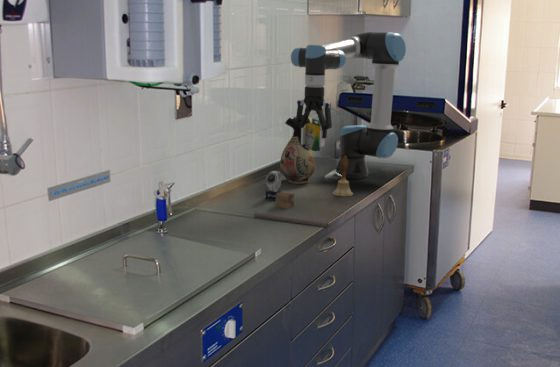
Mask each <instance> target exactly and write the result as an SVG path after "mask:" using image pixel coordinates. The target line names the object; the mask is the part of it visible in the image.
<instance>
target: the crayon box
mask: <svg viewBox="0 0 560 367" xmlns="http://www.w3.org/2000/svg"><path fill="white" fill-rule="evenodd" d="M311 118H312V119H311V122H310V123H306V125H305V126H306V145H305V148H308V149H310V150H312V152H320V151H321V147H319V146H320V130H321V129H322V128H321V124H320V121H319V119H315V118H313V117H311ZM316 122H317V123H316Z"/></svg>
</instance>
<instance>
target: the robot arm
mask: <svg viewBox="0 0 560 367" xmlns="http://www.w3.org/2000/svg"><path fill="white" fill-rule="evenodd" d="M406 47H407V46H406V42H405V39H404V38H403V36H402V35H401V34H400V33H396V32H391V31H390V32H384V31H383V32H377V31H375V32H373V31H368V32H367V31H366V32H361V33H357V34H354V35H349V36H347V37H345V38H343V40H337V41H333V42H328V43H324V44H307V45H306V47H295V48H294V49H293V50H292V52H291V54H290V61H291V64H292V65H293V66H294V67H298V68H305V72H304V86H305V87H304V98H303V99H299V100H297V102H296V103H297V109H296V116H295V117H296V121H295V125H297V126H299V127H300V136H301V145H303V144H306V127H305V126H306V125H305V124H306V121H307V119H308V118H309V117H310V114H311V112H312V111H315V113H316V114H317V117H318V120H319V121H320V124H321V129H320V146H319V147H320V148H324V147H325V141H326V140H325V139H327V137H328V136H327V134H328V130H330V129H332V128H333V126H332V125H333V124H332V114H331V108H332V102H329V101H325V99H324V98H325V87H324V86H325V85H326V84H325V83H326V82H325V81H326V80H325V78H326V77H325V75H326V70H338V69H341V68H343V67H344V65H345V64H346V59H347V58H348V59H363V60H364V59H365V60H371V65H372V66H373V67H374V76H373V78H374V79H373V87H372V88H373V90H372V91H373V92H372V102H371V117H370V123H369V124H368V125H365V124H357V125H356V124H355V125H346V126H343V127H342V128H341V130H340V142H339V159H338V162H337V165H336V167H335V169H334V170H335V171H336V172H337V173H339V174H341V175H342V160H343V157H344V156H347V159H348V167H347V170H346V179H363V178H368V176H369V169H368V165H367V161H366V156H369V157H374V158H378V159H389V158H390V157H392V156H393V155H394V153H395V152H396V150H397V147H398V144H399V137H398V135H397V134H396V133H395V132H394V127H393V126H392V124H391V120H392V111H393V110H392V109H393V97H394V85H395V84H394V83H395V72H396V69H397V68H398V67H399V66H400V62H401V61H402V60H403V59H404V58H405V56H406V53H407V52H406V50H407V48H406ZM304 105H305V107H304ZM323 107H324V110H323ZM323 111H324V112H323ZM302 115H303V117H302ZM301 119H302V120H301ZM335 171H334V172H335Z"/></svg>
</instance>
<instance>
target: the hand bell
mask: <svg viewBox="0 0 560 367" xmlns="http://www.w3.org/2000/svg"><path fill="white" fill-rule="evenodd" d="M347 167H348V159H347V156H344V157H343V160H342V177H341V179H339V180H338V181H337V185H336V188H335V190H334V191H333V192H332V195H334V196H336V197H337V196H338V197H352V196H353V195H354V193H353V191H351V188H350V182H349V180H347V178H346V170H347Z"/></svg>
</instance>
